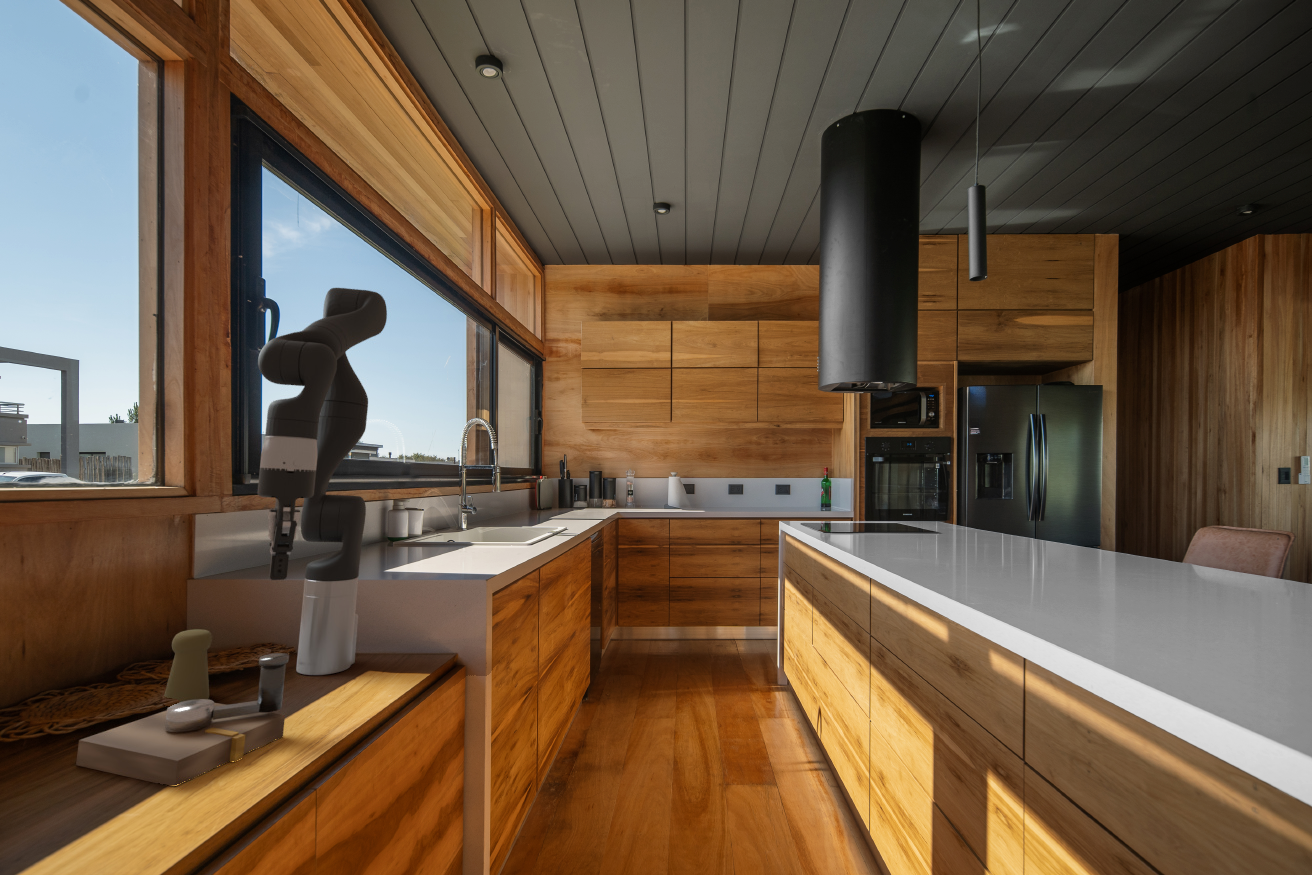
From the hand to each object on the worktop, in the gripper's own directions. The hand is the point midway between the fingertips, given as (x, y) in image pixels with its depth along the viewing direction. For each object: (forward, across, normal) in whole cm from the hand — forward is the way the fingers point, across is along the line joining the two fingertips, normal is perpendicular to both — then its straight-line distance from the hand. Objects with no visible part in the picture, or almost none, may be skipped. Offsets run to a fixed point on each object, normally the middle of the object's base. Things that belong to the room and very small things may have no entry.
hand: (277, 578), depth 92 cm
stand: (+21, +7, -9) cm, 24 cm away
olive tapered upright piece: (+21, -14, -10) cm, 28 cm away
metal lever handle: (+18, +7, -5) cm, 20 cm away
